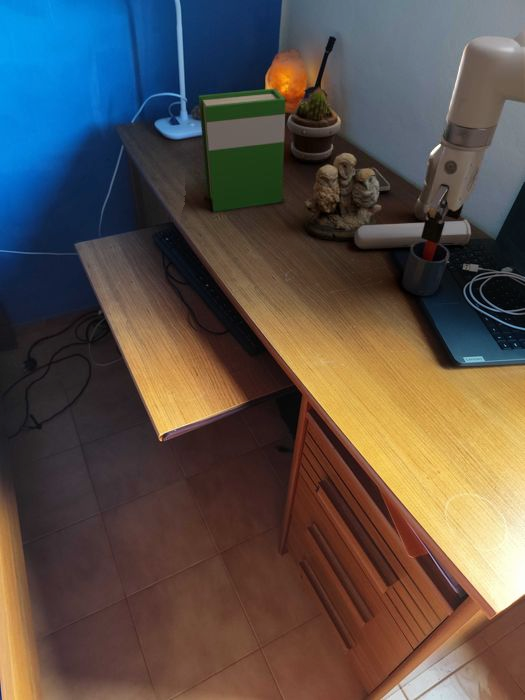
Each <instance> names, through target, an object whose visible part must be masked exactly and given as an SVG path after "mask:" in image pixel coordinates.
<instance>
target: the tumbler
mask: <svg viewBox="0 0 525 700" xmlns="http://www.w3.org/2000/svg"><path fill="white" fill-rule="evenodd" d="M426 242H427V241H419V242H417V243H414V244H413V245H412V246H411V247H409V248H410V249H409V252H408V256H407V260H406V263H405V267H404V270H403V274H402V276H401V286H402V287H403V289H405V290H406V291H407V292H408V293H411V294H412V295H416V296H421V297H427V296H431V295H433V294H436V292H437V291H438V289H439V288H440V284H441V282H442V279H443V276H444V273H445V271H446V267H447V265H448V262H449V259H450V251H449V250H448V248H447V247H446V246H445V245H441V244H438V243H437V246H436V249H435V252H434V256H433V259H432V261H426V260H423V259H421V258H422V255H423V251H424V248H425V245H426ZM435 289H436V290H435ZM433 290H434V291H433ZM420 291H422V292H420ZM428 291H431V292H428Z"/></svg>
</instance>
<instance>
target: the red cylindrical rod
mask: <svg viewBox="0 0 525 700" xmlns="http://www.w3.org/2000/svg"><path fill="white" fill-rule="evenodd" d="M443 222H445V220H444V221H443ZM436 246H437V243H434V242H431V241H428V240H427V242H426V245H425V248H424V251H423V255H422V258H421V259H423V260H426V261H432V259H433V256H434V252H435V249H436Z"/></svg>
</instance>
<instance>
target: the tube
mask: <svg viewBox="0 0 525 700" xmlns="http://www.w3.org/2000/svg"><path fill="white" fill-rule="evenodd" d="M444 222H445V225H444V228H443V231H442V235H441V238H440V241H439V242H438V244H441V245H442V246H465V245H466V244H468V243H469V241H470V239H471V235H472V231H471V225H470V223H469V221H468V220H467V219H463V220H454V221H453V220H451V221H444ZM424 224H425V222H408V223H388V224H387V223H386V224H377V225H363V226H361V227H360V228H359V229H357V230H356V231H355V236H354V240H353V241H354V244H355V246H357V248H359V249H360V250H376V249H377V250H379V249H396V248H400V249H401V248H411V246H412V245H413V244H414V243H417V242H419V241H427V240H425V239H422V238H421V235H422V232H423V228H424ZM442 243H454V244H442ZM402 245H408V246H402Z"/></svg>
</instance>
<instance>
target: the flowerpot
mask: <svg viewBox="0 0 525 700" xmlns="http://www.w3.org/2000/svg"><path fill="white" fill-rule="evenodd" d="M320 87H321V85H320V86H318V87H316V89H315V88H314V91H313V92H311V94H309V97H307V98H306V99H304V100H302V101H300V103H297V104H298V106H297V107H295V108H294V109H293V110H292V112H291V113H292V114H290V115H289V116H288V118H287V122H286V127H287V128H288V130H289V131H290V132H291V141H292V142H291V144H290V147H291V148H290V151H291V152H292V154H293V156H294V158H295V159H297V160H298V161H300V162H303V163H311V164H312V163H314V164H315V163H316V164H317V163H318V164H319V163H323V162H325V161H326V160H328V159H329V157H330V156H331V155H332V151H333V149H334V145H333V142H334V140H335V136H336V134H337V133H338V132H339V130H340V128H341V124H342V121H341V118H340V117H339V116H338V113H336V112H335V111H334V110H333V109H332V108H331V104H329V96H328V95H326V91H325V90H326V89H325V88H324V89H323V88H320Z"/></svg>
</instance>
